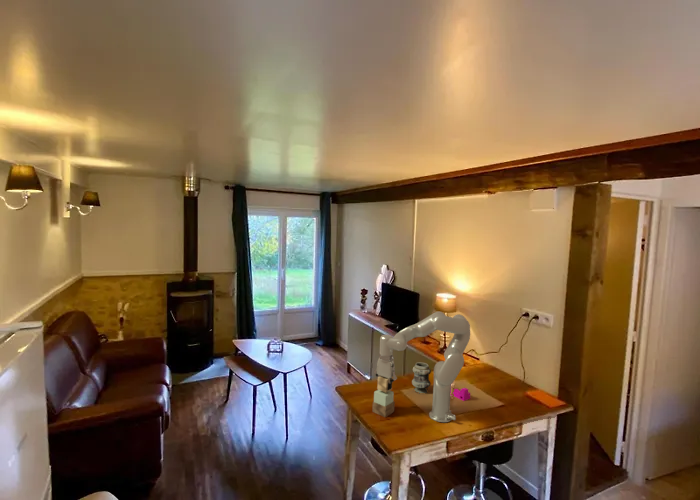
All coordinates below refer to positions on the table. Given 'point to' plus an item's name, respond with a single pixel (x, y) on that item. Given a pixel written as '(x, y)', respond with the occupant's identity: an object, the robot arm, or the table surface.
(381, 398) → the sage top block
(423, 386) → the apothecary jar
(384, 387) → the oak block
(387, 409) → the walnut base block
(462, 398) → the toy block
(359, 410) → the table surface
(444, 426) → the table surface
